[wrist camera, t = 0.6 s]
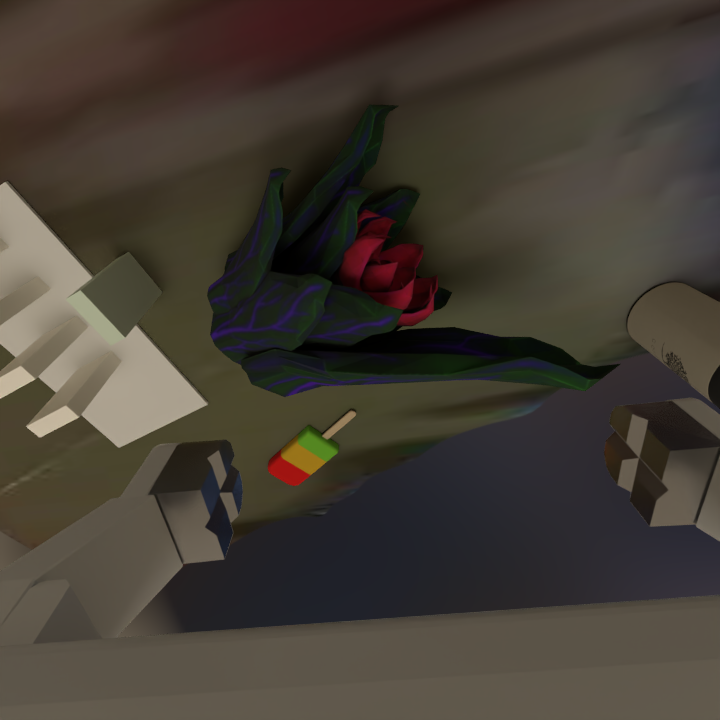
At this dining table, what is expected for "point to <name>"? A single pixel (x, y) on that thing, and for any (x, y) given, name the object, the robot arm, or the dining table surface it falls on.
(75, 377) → the domino
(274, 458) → the popsicle
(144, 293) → the domino
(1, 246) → the domino
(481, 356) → the decorative plant
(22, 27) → the dining table surface
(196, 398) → the mat
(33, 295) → the domino
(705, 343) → the travel mug
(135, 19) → the dining table surface
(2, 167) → the dining table surface
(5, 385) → the domino
